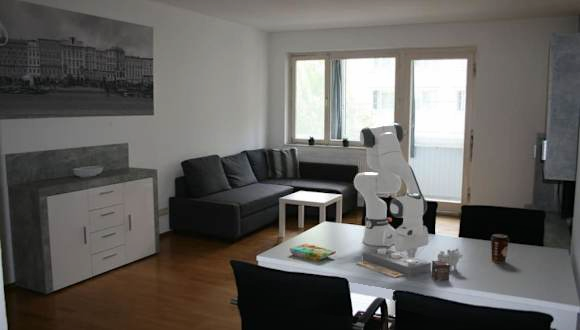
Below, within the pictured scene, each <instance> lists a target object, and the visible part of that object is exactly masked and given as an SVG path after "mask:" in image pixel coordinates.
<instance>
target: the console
mask: <svg viewBox="0 0 580 330" xmlns="http://www.w3.org/2000/svg"><path fill="white" fill-rule="evenodd" d="M380 248H382V249H386V254H384V255H381V254H378V253H377V249H380ZM391 253H399V254H401V258H400V259H393V258H391ZM406 260H414V261H416V263H415V264H409V263H406ZM362 261H368V262H371V263H373V264H376V265H379V266H382V267H385V268H388V269H391V270H394V271H396V272H399V273H402V274H404V276H407V277H409V278H410V277H411V278H412V277H415V276H418V275H422V274H425V273H429V272H432V261H431V262H430V261H427V260H425V259H421V258H418V257H416V256H415V257H413V258H408V254H404V253H403V252H399V251H396V250H395V251H394V250H391V249H389V248H386V247H379V248H376V249H372V250H365V251H362Z"/></svg>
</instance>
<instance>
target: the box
mask: <svg viewBox="0 0 580 330" xmlns="http://www.w3.org/2000/svg"><path fill="white" fill-rule="evenodd" d="M450 272H451V271H450V265H449V264H448V263H447V262H446V261H438V260H431V277H432V278H433V280H435V281H436V282H442V281H443V282H444V281H445V282H446V281H447V282H448V281H450Z"/></svg>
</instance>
